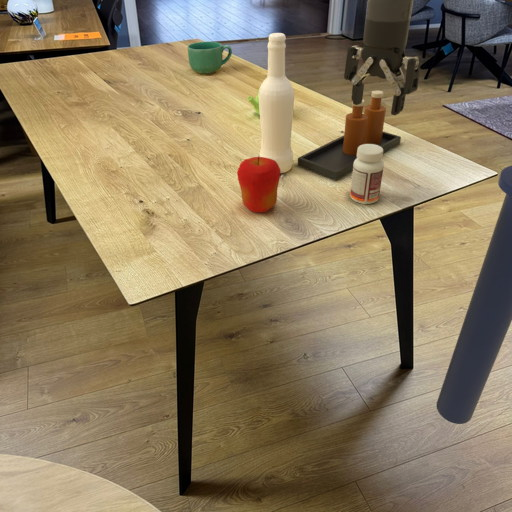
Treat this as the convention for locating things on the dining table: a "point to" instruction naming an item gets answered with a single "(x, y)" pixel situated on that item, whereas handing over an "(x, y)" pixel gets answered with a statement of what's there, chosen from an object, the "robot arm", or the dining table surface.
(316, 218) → the dining table surface
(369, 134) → the amber bottle far
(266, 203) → the apple
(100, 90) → the dining table surface
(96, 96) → the dining table surface
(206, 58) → the mug
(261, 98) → the bottle
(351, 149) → the amber bottle near
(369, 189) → the pill bottle
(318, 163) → the tray
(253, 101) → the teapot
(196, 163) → the dining table surface
